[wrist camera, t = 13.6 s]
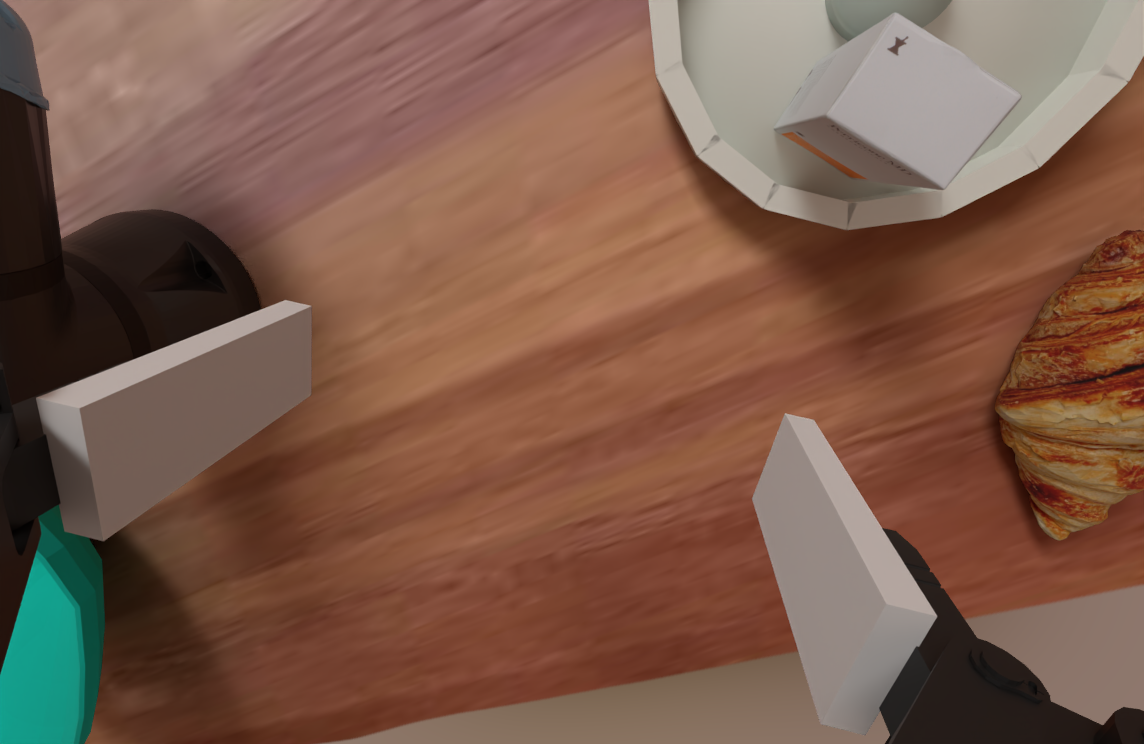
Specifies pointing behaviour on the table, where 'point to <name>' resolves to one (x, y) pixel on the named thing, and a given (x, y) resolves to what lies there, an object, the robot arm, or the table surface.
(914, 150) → the skincare box
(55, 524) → the table top decor
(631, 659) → the table surface
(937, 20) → the ring tray
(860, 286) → the table surface
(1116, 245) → the croissant
